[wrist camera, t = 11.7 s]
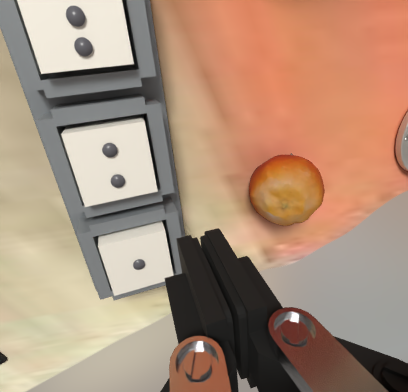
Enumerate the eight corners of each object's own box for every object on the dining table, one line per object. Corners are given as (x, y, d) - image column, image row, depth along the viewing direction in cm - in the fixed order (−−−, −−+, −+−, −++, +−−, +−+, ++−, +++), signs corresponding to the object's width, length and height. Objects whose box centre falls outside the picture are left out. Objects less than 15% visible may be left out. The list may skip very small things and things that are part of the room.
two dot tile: (139, 113, 25) (144, 121, 21) (151, 175, 28) (158, 192, 24) (68, 124, 23) (60, 135, 20) (88, 188, 26) (84, 208, 23)
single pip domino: (158, 210, 29) (165, 231, 26) (166, 255, 32) (174, 279, 28) (99, 224, 28) (97, 247, 24) (113, 270, 31) (114, 297, 27)
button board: (137, -63, 21) (144, -92, 17) (186, 258, 35) (196, 282, 31) (-28, -63, 19) (-63, -96, 15) (96, 283, 33) (95, 312, 29)
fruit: (321, 190, 35) (331, 232, 29) (259, 198, 38) (256, 239, 32) (314, 131, 31) (324, 164, 25) (245, 145, 34) (238, 179, 28)
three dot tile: (112, -27, 20) (113, -47, 17) (130, 64, 23) (134, 64, 19) (21, -24, 19) (1, -45, 15) (51, 72, 22) (40, 73, 18)
